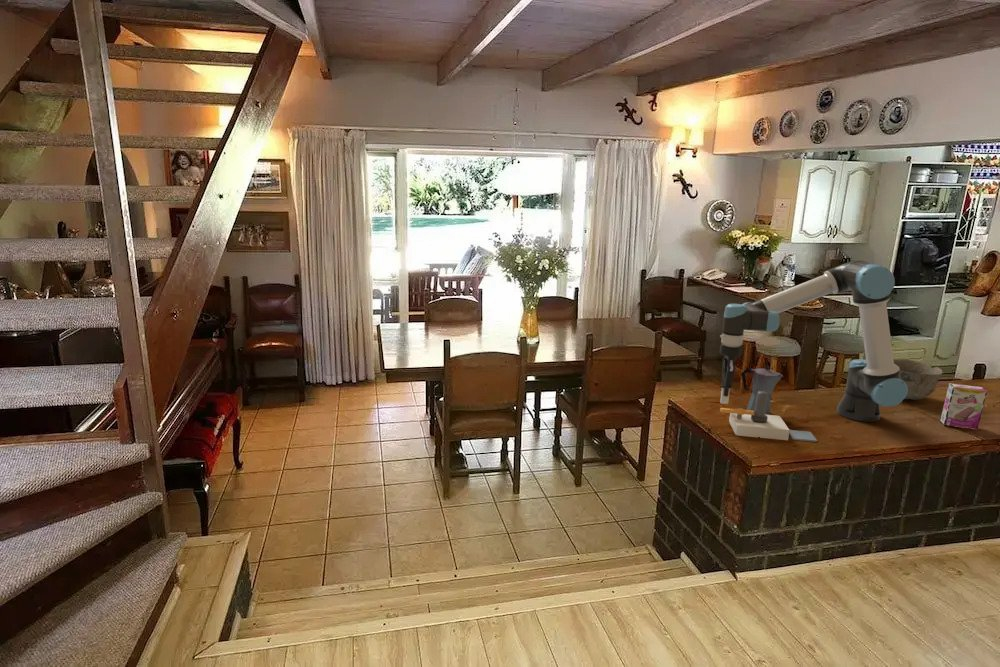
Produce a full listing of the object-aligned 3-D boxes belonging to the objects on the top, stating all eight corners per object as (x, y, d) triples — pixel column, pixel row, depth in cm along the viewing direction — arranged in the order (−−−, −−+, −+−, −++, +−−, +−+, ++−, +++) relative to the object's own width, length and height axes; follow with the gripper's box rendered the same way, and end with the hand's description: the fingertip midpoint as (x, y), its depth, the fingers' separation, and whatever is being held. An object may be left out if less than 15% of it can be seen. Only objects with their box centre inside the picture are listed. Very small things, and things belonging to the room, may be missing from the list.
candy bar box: (944, 426, 230) (952, 386, 226) (939, 422, 235) (948, 382, 231) (978, 431, 227) (988, 390, 223) (973, 426, 231) (982, 386, 227)
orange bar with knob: (752, 412, 223) (752, 409, 223) (754, 415, 220) (754, 412, 220) (719, 409, 225) (720, 406, 225) (721, 412, 222) (721, 409, 222)
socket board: (778, 425, 228) (780, 411, 226) (788, 440, 214) (790, 425, 213) (729, 421, 231) (730, 406, 230) (735, 435, 218) (737, 420, 216)
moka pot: (780, 418, 235) (787, 370, 230) (739, 414, 238) (745, 367, 233) (774, 409, 244) (781, 363, 239) (735, 406, 247) (740, 360, 242)
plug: (763, 428, 225) (768, 390, 221) (767, 434, 219) (772, 395, 216) (748, 426, 226) (753, 389, 222) (751, 432, 220) (756, 394, 217)
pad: (810, 433, 221) (810, 431, 221) (816, 442, 213) (817, 440, 213) (787, 431, 222) (787, 429, 222) (793, 439, 215) (793, 438, 215)
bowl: (937, 410, 247) (944, 376, 243) (875, 400, 258) (882, 367, 255) (934, 396, 265) (941, 364, 261) (877, 386, 276) (882, 355, 272)
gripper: (718, 339, 232) (711, 396, 237) (723, 348, 219) (716, 408, 225) (738, 341, 230) (731, 398, 236) (745, 349, 218) (737, 409, 223)
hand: (724, 402), depth 230 cm, fingers closed
